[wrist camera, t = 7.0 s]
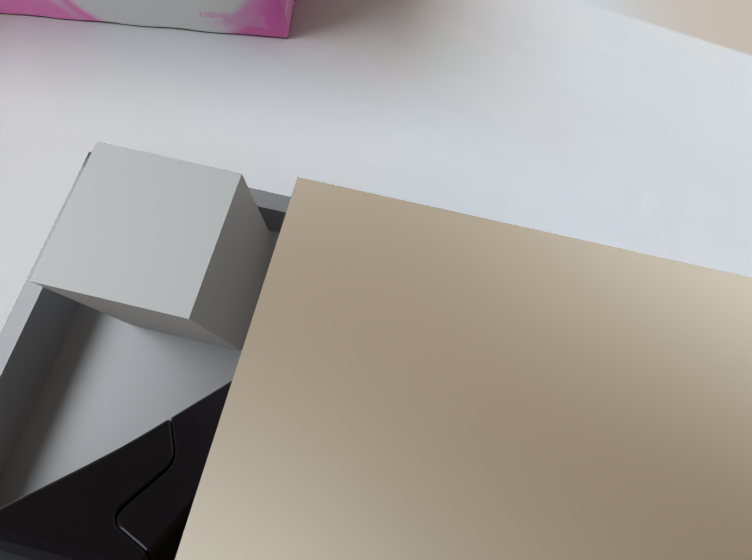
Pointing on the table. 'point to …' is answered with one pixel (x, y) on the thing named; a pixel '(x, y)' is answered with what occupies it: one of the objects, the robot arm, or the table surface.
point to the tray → (94, 378)
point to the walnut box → (478, 397)
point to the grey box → (161, 246)
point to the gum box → (169, 13)
